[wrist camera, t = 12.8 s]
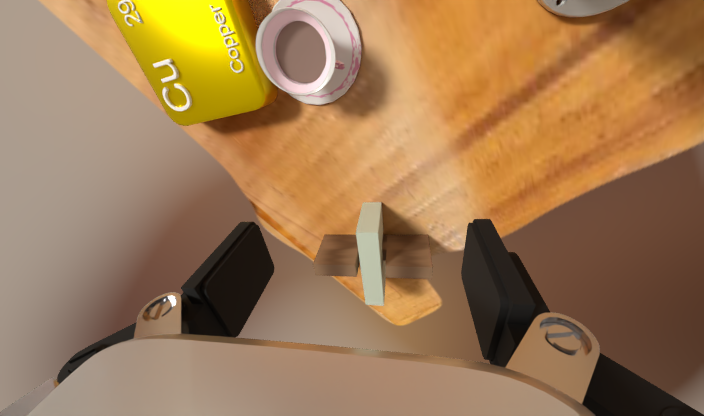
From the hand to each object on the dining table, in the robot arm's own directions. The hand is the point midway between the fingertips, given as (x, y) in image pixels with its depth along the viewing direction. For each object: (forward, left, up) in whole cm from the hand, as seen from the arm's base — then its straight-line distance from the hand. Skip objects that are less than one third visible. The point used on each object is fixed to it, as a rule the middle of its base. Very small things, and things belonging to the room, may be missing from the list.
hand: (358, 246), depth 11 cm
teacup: (+8, -8, -27) cm, 29 cm away
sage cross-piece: (+3, +21, -26) cm, 34 cm away
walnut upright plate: (+3, +21, -26) cm, 34 cm away
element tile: (+22, -10, -27) cm, 36 cm away
